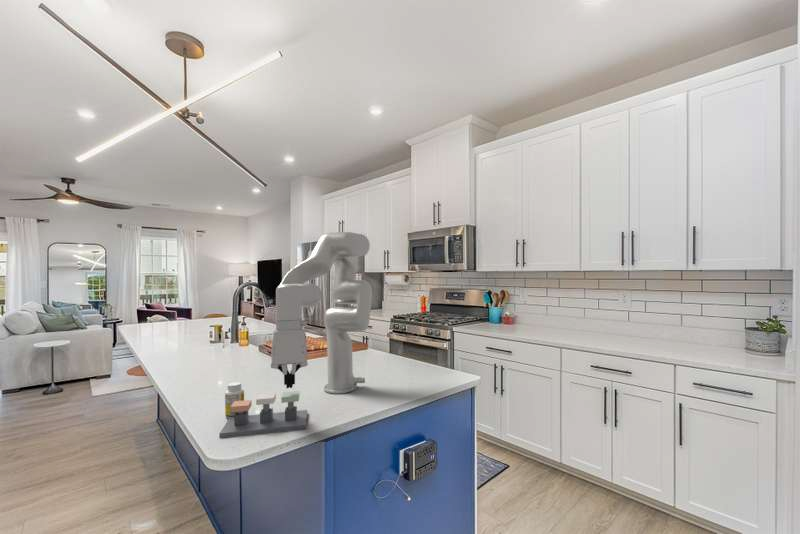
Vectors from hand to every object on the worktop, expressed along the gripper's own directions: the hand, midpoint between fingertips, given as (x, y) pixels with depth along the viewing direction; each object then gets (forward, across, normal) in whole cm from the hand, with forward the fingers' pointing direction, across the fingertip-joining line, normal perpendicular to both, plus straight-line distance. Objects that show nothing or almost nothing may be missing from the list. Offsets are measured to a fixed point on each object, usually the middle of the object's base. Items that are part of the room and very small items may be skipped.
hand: (289, 386), depth 111 cm
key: (+9, +14, -1) cm, 16 cm away
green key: (+7, 0, -1) cm, 7 cm away
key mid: (+7, +7, -1) cm, 10 cm away
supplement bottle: (+11, +18, -11) cm, 23 cm away
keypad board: (+11, +7, -1) cm, 13 cm away
